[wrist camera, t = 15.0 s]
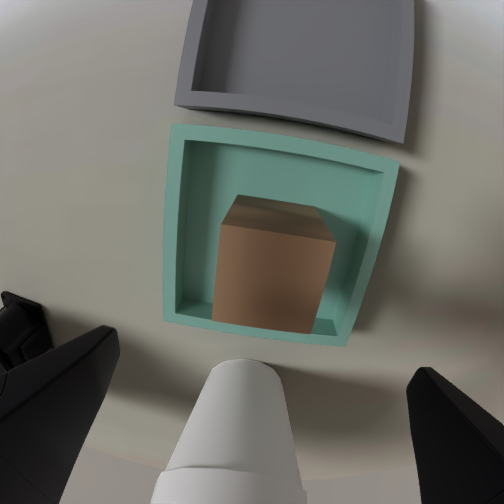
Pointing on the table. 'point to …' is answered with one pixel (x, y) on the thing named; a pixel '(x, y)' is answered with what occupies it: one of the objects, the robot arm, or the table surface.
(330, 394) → the table surface
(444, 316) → the table surface
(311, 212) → the walnut block
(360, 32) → the tray
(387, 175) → the tray
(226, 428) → the foam cup
